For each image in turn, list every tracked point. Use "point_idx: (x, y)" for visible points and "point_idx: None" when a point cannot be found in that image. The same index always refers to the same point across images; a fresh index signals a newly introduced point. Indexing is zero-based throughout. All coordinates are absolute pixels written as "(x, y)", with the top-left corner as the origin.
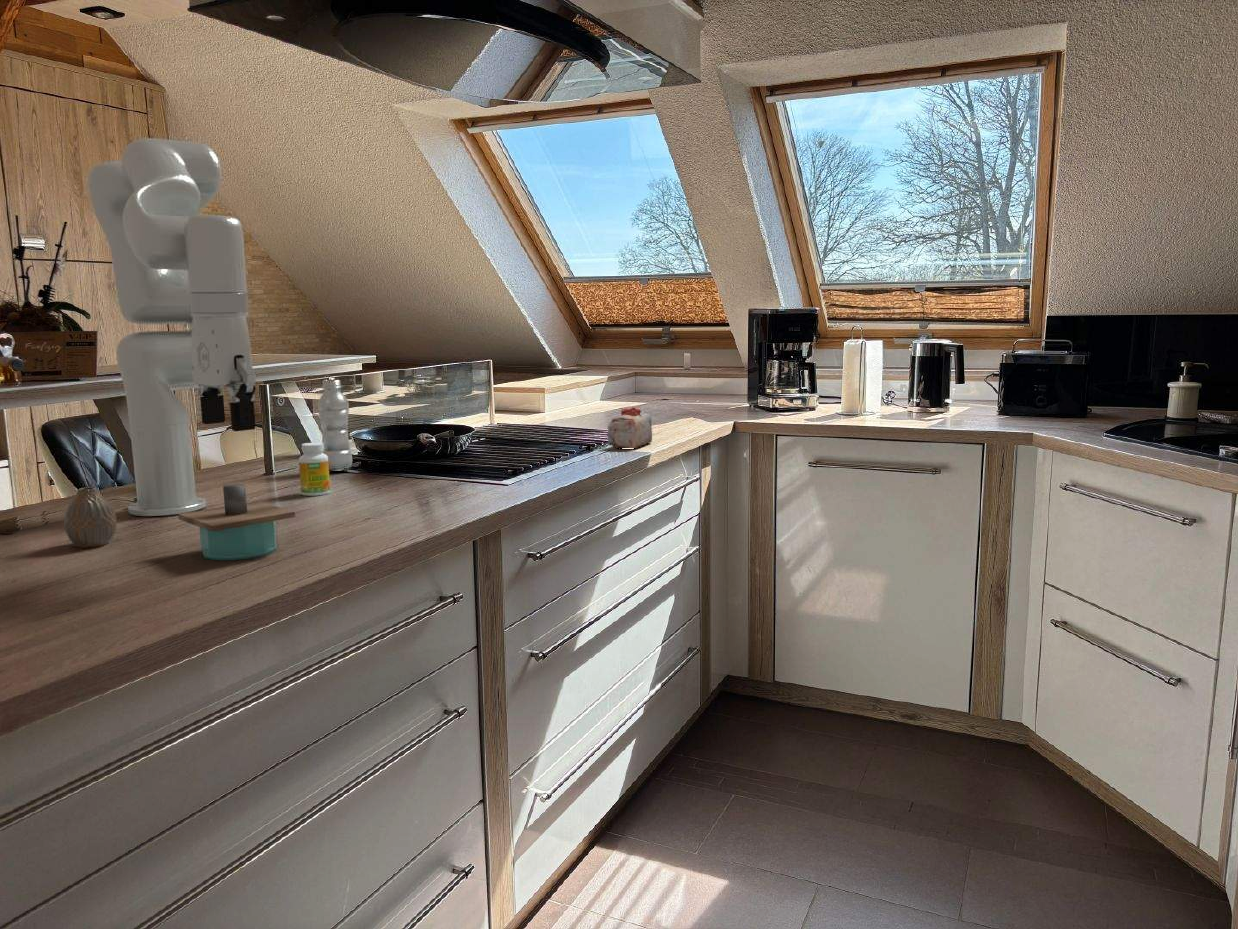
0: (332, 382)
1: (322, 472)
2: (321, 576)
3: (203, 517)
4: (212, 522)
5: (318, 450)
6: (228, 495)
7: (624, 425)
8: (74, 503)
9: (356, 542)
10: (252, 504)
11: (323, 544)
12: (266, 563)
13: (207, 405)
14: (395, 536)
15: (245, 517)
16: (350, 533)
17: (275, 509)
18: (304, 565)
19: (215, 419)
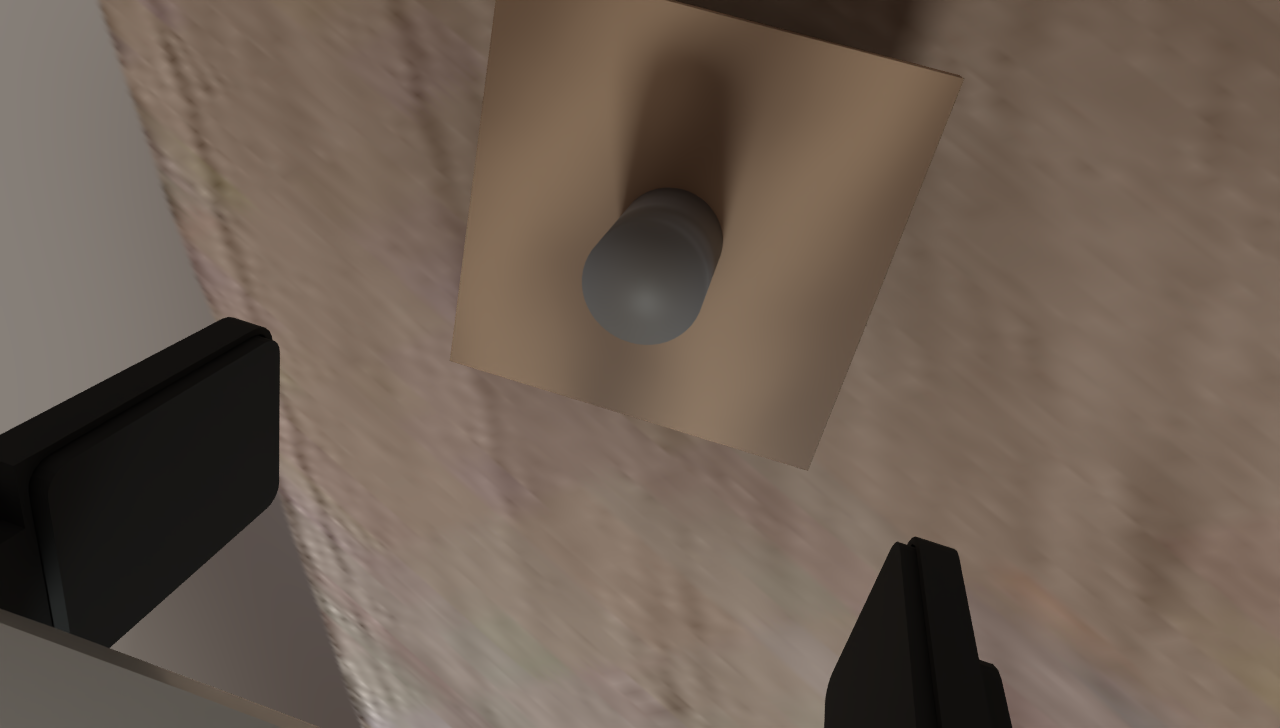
0: None
1: None
2: (146, 77)
3: (732, 82)
4: (576, 17)
5: None
6: (632, 216)
7: None
8: None
9: (438, 455)
10: (766, 408)
11: (509, 397)
12: (448, 111)
13: (891, 724)
14: (401, 549)
15: (533, 181)
16: (558, 539)
17: (566, 365)
18: (314, 156)
19: (855, 641)
